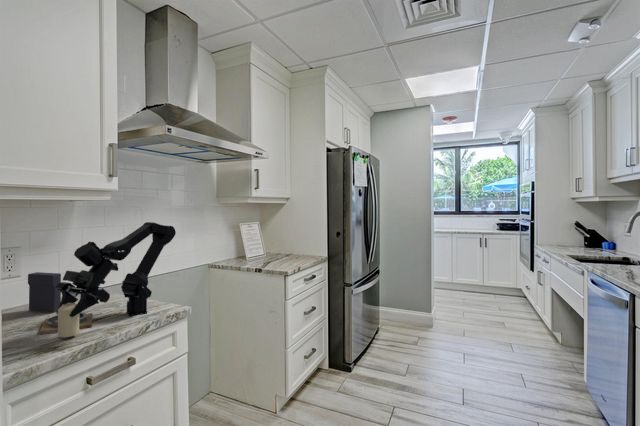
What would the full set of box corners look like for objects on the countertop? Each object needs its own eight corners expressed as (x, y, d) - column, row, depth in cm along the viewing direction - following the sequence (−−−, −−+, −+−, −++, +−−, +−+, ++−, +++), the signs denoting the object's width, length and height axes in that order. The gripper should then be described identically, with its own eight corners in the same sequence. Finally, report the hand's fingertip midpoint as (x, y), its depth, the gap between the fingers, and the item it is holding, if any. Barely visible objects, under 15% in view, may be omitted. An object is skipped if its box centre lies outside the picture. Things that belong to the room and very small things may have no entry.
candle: (57, 339, 103) (57, 307, 102) (58, 333, 107) (58, 302, 107) (79, 335, 106) (79, 304, 106) (79, 329, 110) (79, 300, 110)
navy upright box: (62, 310, 132) (62, 273, 132) (52, 313, 128) (53, 275, 128) (37, 308, 134) (38, 271, 133) (27, 311, 129) (27, 273, 129)
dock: (92, 315, 127) (92, 309, 127) (91, 327, 115) (91, 320, 115) (45, 321, 119) (45, 314, 119) (39, 334, 108) (39, 327, 108)
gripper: (61, 258, 112) (23, 299, 102) (102, 263, 107) (66, 306, 97) (83, 276, 120) (51, 316, 110) (123, 281, 114) (92, 323, 104)
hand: (64, 315), depth 105 cm, fingers closed on candle, 5 cm apart
